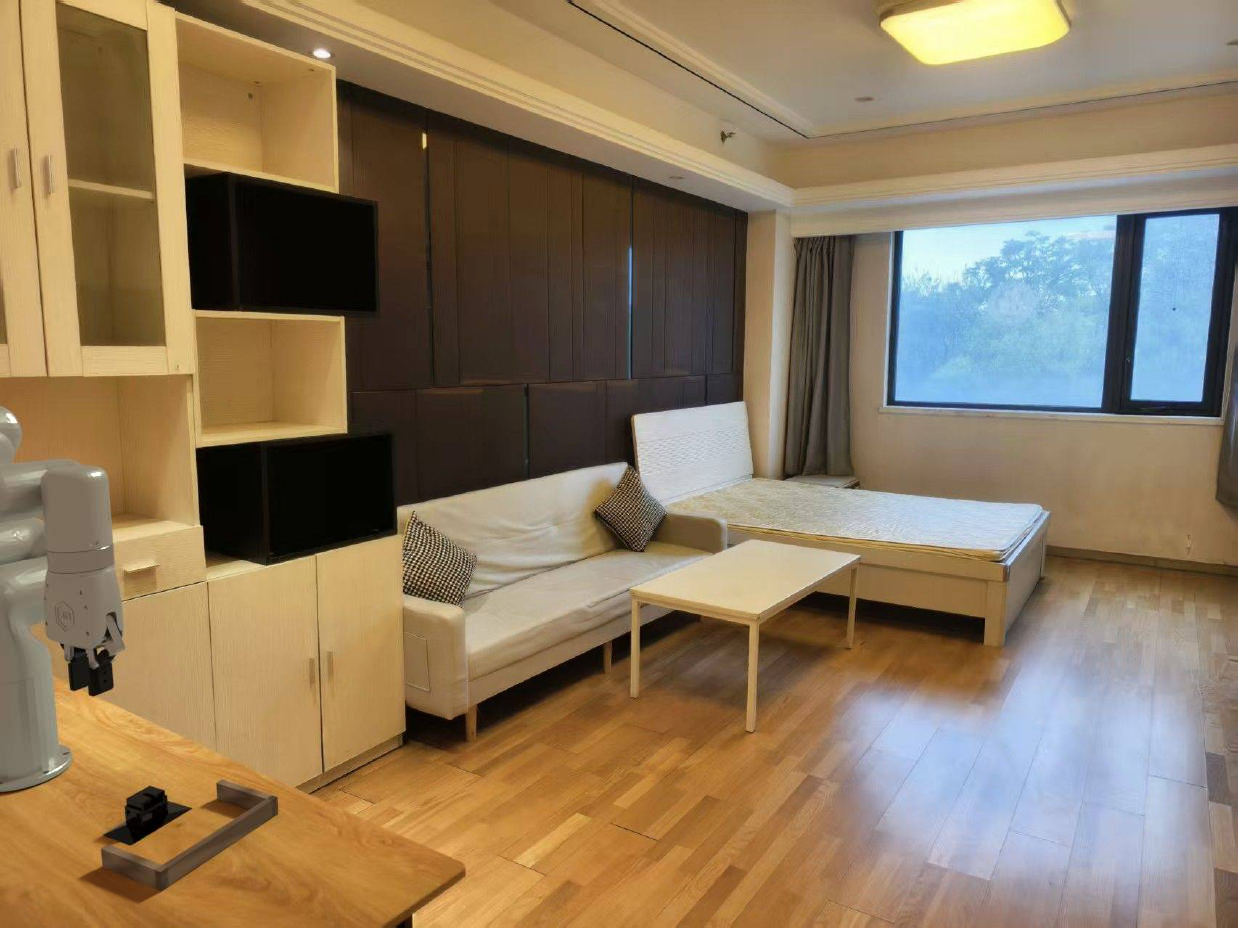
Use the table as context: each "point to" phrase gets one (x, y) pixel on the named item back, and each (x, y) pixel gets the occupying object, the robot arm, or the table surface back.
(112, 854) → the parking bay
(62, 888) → the table surface
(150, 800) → the build plate
